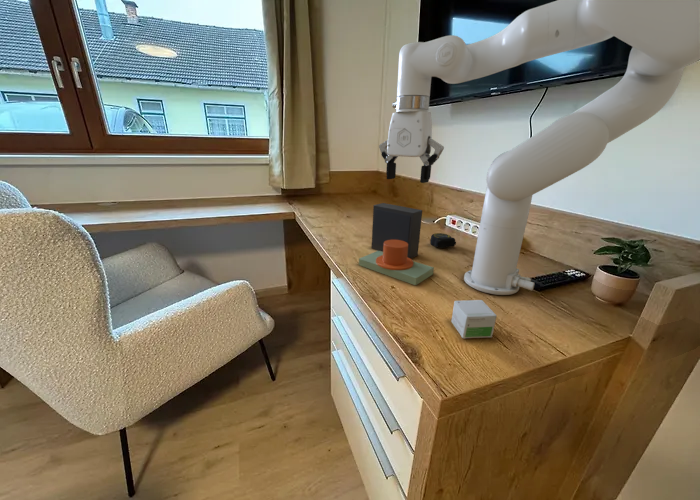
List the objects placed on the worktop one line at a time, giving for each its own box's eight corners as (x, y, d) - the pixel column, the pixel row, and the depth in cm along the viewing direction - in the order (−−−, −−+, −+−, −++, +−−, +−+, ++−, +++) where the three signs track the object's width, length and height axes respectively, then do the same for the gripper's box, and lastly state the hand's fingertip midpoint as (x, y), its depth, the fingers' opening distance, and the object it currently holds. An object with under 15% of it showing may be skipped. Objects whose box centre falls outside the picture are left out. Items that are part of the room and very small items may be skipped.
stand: (433, 274, 81) (434, 267, 80) (415, 285, 75) (416, 278, 74) (378, 256, 92) (378, 250, 92) (358, 265, 86) (358, 258, 85)
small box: (462, 339, 55) (466, 316, 53) (450, 321, 60) (453, 299, 59) (493, 338, 56) (498, 315, 54) (478, 320, 61) (482, 298, 59)
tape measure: (436, 250, 98) (438, 239, 97) (426, 243, 104) (427, 233, 103) (455, 249, 100) (457, 238, 99) (443, 242, 106) (445, 232, 105)
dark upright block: (417, 255, 94) (422, 210, 89) (408, 259, 90) (413, 213, 86) (380, 244, 103) (383, 202, 98) (371, 248, 99) (373, 205, 94)
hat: (420, 262, 83) (422, 243, 81) (400, 273, 76) (401, 252, 74) (389, 253, 90) (390, 235, 88) (368, 262, 82) (369, 243, 81)
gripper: (373, 106, 75) (370, 178, 81) (440, 102, 64) (431, 185, 70) (390, 109, 80) (386, 176, 86) (454, 105, 70) (445, 182, 76)
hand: (407, 180), depth 78 cm, fingers open, 9 cm apart
